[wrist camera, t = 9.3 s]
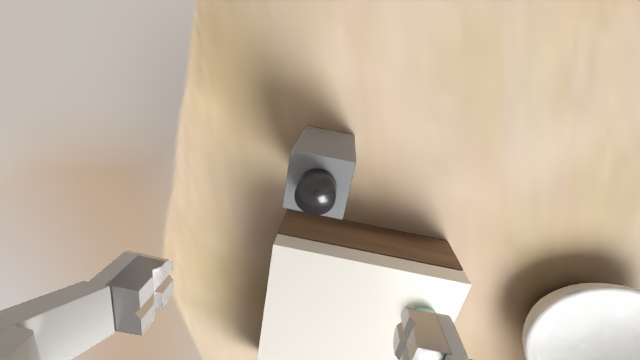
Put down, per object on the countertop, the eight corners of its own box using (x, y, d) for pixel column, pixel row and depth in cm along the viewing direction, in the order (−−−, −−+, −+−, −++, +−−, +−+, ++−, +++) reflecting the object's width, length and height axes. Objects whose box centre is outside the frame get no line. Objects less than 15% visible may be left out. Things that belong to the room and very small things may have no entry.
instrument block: (306, 125, 24) (285, 158, 16) (354, 134, 24) (356, 172, 16) (299, 170, 26) (277, 219, 18) (344, 179, 26) (341, 232, 18)
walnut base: (287, 208, 27) (278, 232, 24) (447, 241, 27) (463, 270, 23) (266, 354, 35) (256, 388, 31) (389, 380, 35) (394, 418, 31)
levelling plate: (277, 233, 23) (266, 261, 20) (464, 271, 23) (483, 305, 20) (254, 394, 31) (243, 433, 28) (395, 424, 30) (401, 467, 27)
